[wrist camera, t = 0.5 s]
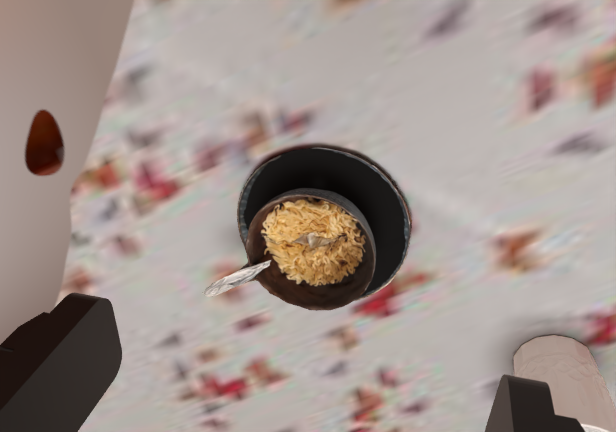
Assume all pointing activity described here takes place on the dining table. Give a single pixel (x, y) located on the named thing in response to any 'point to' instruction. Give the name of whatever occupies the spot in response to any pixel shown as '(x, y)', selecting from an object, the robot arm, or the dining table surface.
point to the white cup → (568, 380)
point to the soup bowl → (320, 229)
